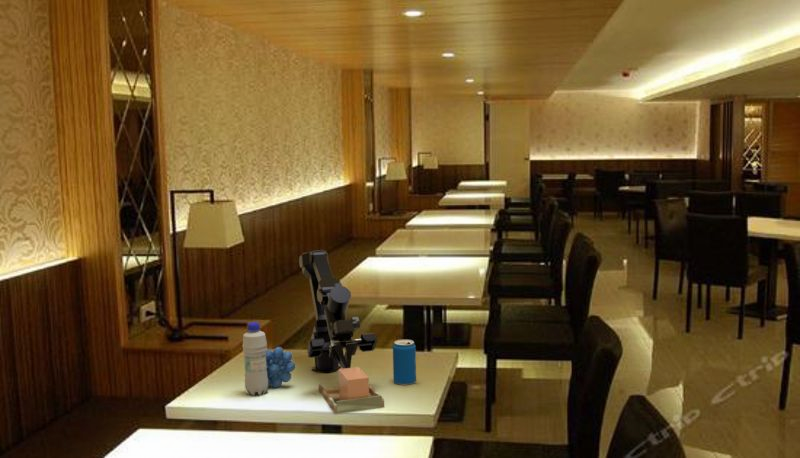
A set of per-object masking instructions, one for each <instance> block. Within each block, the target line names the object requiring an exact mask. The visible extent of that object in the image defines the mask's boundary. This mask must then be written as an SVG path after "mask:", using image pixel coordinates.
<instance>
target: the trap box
mask: <svg viewBox="0 0 800 458" xmlns="http://www.w3.org/2000/svg"><path fill="white" fill-rule="evenodd" d="M317 386H318V387H317V388H318V392H319V393H320V394H321V396H322V397H323V398H324V400H325V401H326V403H327V404H328V406H329V407H330V409H331V410H332V411H333V413H334V414H335V415H337V414H345V413H353V412H359V411H360V412H361V411H366V410H374V409H380V408H385V399H384V396H382V395H381V394H380V393H379V392H378V391H376V390H375V388H373V387H372V386H371V385H370V384H369V397H365V398H357V399H349V400H342V401H341V400H340V398H339V386H335V387H334V386H333V387H328V388H324V387H323V385H322V384H321V383H317Z"/></svg>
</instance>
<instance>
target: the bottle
mask: <svg viewBox="0 0 800 458" xmlns="http://www.w3.org/2000/svg"><path fill="white" fill-rule="evenodd" d="M246 328H247V332H245V333H243V336H242V352H243V354H244V355H243V356H244V370H245V372H244V388H245V391H246V393H247V395H251V396H255V395H256V393H257V395H259V396H261V395H262V394H266V393H267V391H268V388H269V387H268V376H267V363H266V350H268V342H267V337H266V333H265V332H264V331H261V325H260V323H259V322H257V321H251V322H248V324H247V327H246Z"/></svg>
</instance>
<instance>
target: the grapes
mask: <svg viewBox="0 0 800 458" xmlns="http://www.w3.org/2000/svg"><path fill="white" fill-rule="evenodd" d="M292 359H293V353H292V352H291V351H287V350H286V351H284V349H283V348H282V347H281V346H276V347H275V348H273V350H271V349H267V350H266V363H267V376H268V388H269V387H270V386H271V388H274V389H278V388H281V387H282V386H283V385H282V384H283V383H288V382H289V381H291V379H292V372H293V371H294V370H295V369H296V363H295V362H294V361H291V360H292Z"/></svg>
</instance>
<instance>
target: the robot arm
mask: <svg viewBox="0 0 800 458" xmlns="http://www.w3.org/2000/svg"><path fill="white" fill-rule="evenodd" d="M328 254H329V253H328V252H327V251H326V250H324V249H320V250H317V249H316V250H311V251H310V252H303V253H302V254H301V255H300V256H299V258H298V259H299V260H298V263H299V264H298V265H299V267H300V268H301V271H302V275H303V276H304V277H305V278H306V279H307V280H308V281H309V288H310V292H311V298H312V303H313V308H314V313H315V314H314V315H315V320H316V321H315V324H314V327H313V329H312V332H311V338H310V339H309V341H308V342H307V343H308V344H307V349H306V350H307V351H306V352H307V357H308V358H309V359H310V358H314V365H315V366H314V367H312V368H311V370H312V371H314V372H315V371H316V372H318V373H319V372H321V373H326V374H330V373H332V372H334V371H337V370H338V369H344V368H352V367H351V365H352V356H355V355H356V353H357V350H358V347H359V350H360V351H361V352H373V351H375V348H376V345H377V342H378V338H377V334H376V333H374V332H368V333H366V332H365V333H360V334H361V335H360V338H357V339H355V338H354V339H352V338H353V337H354V332H355V330H359V329H360V328H361V321H360V318H359V316H352V317H351V318H350V319H348V317H347V314H346V312H347V311H348V308H349V305H350V301H351V297H352V293H351V291H350V290H349V288H347V287H346V286H343V284H342V283H341V281H340V280H339V279H338V278H335V276H334V274H333V272H332V269H331V266H330V263H329V262H330V261H329V255H328ZM344 349H345V351H344Z"/></svg>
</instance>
